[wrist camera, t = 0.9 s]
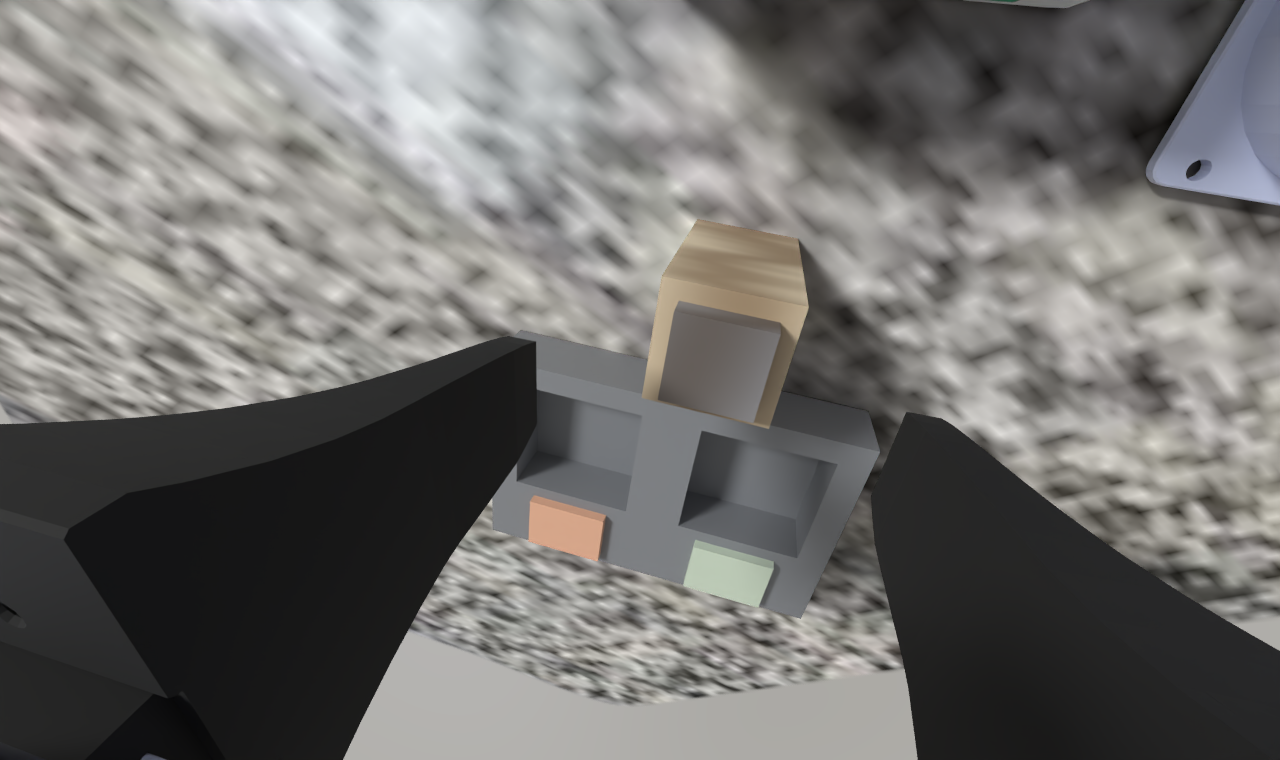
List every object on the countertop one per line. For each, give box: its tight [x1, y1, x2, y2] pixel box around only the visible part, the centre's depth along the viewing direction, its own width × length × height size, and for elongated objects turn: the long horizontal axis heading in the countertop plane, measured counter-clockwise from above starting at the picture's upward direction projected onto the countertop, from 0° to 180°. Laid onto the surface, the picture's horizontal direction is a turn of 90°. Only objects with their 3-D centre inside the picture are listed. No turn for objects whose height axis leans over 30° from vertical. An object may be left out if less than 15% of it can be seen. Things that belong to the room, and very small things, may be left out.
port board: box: [492, 330, 880, 619], centre depth 21 cm, size 14×9×3 cm, turn 82°
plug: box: [642, 219, 809, 429], centre depth 15 cm, size 3×3×7 cm
